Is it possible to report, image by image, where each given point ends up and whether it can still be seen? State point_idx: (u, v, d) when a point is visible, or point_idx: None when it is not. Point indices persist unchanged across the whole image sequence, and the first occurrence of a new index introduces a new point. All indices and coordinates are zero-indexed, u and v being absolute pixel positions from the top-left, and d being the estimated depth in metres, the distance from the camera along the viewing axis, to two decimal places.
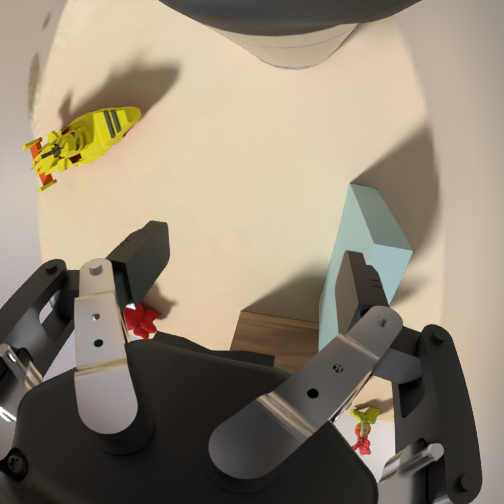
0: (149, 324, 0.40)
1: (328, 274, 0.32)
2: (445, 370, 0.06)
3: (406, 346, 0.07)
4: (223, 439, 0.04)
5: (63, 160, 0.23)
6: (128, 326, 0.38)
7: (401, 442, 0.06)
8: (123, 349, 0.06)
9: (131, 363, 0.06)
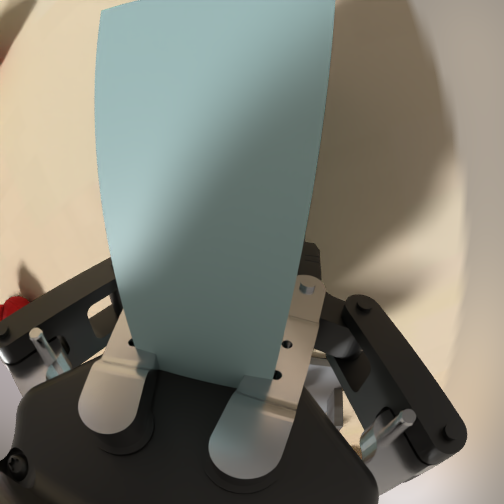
0: None
1: None
2: (383, 337, 0.07)
3: (330, 314, 0.08)
4: (223, 439, 0.04)
5: None
6: None
7: (364, 414, 0.07)
8: (153, 357, 0.05)
9: (160, 372, 0.06)
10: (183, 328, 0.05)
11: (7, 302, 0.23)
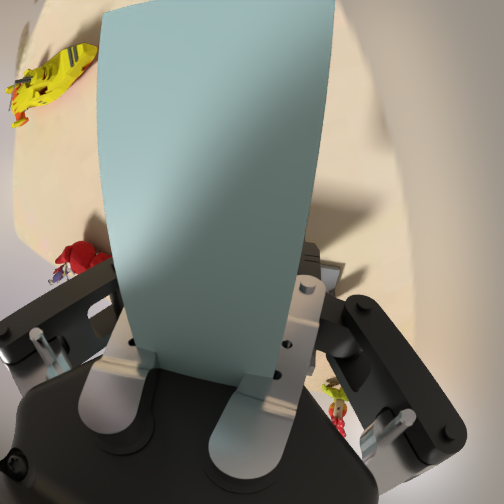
0: None
1: None
2: (383, 337, 0.07)
3: (330, 314, 0.08)
4: (223, 439, 0.04)
5: (32, 90, 0.22)
6: (78, 266, 0.36)
7: (363, 414, 0.07)
8: (153, 357, 0.05)
9: (160, 372, 0.06)
10: (184, 327, 0.05)
11: (75, 243, 0.36)
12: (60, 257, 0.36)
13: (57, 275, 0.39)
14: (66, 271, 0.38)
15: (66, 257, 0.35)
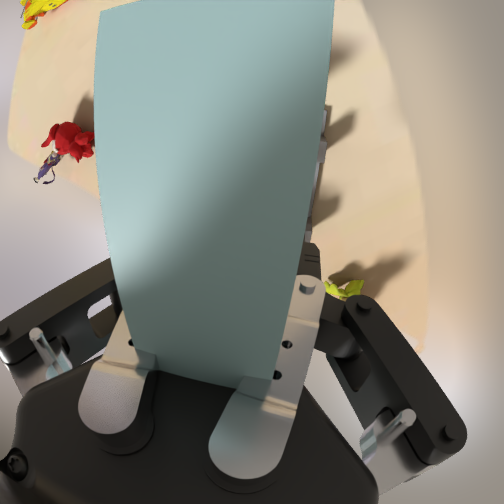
0: (82, 137, 0.33)
1: None
2: (383, 337, 0.07)
3: (329, 314, 0.08)
4: (223, 439, 0.04)
5: None
6: (62, 141, 0.32)
7: (364, 414, 0.07)
8: (153, 357, 0.05)
9: (160, 372, 0.06)
10: (182, 328, 0.05)
11: (62, 123, 0.32)
12: (46, 140, 0.32)
13: (42, 167, 0.36)
14: (51, 157, 0.34)
15: (52, 133, 0.31)
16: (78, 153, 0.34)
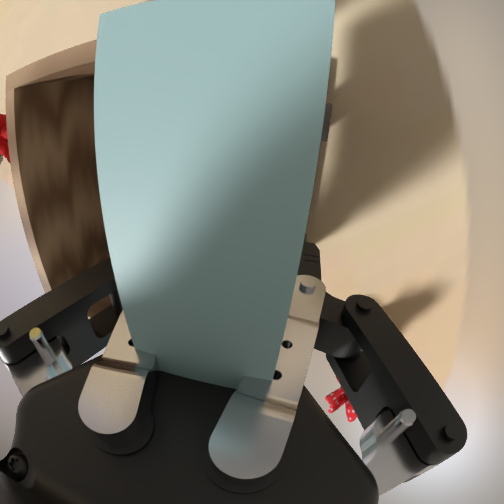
0: None
1: None
2: (383, 337, 0.07)
3: (330, 314, 0.08)
4: (223, 439, 0.04)
5: None
6: None
7: (364, 414, 0.07)
8: (153, 357, 0.05)
9: (160, 372, 0.06)
10: (183, 331, 0.05)
11: None
12: None
13: None
14: None
15: None
16: (4, 149, 0.21)
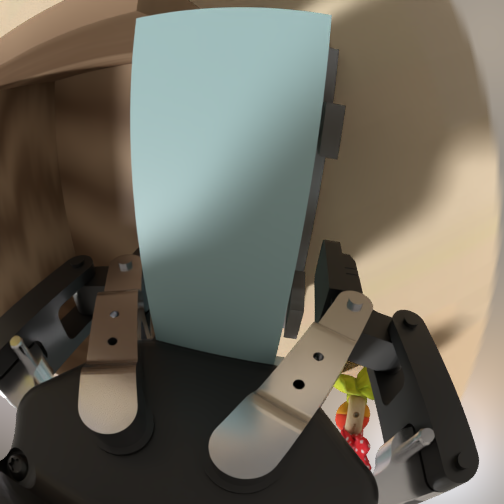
0: None
1: None
2: (422, 354, 0.06)
3: (377, 330, 0.08)
4: (223, 439, 0.04)
5: None
6: None
7: (388, 429, 0.06)
8: (136, 351, 0.06)
9: (143, 365, 0.06)
10: (199, 295, 0.06)
11: None
12: None
13: None
14: None
15: None
16: None
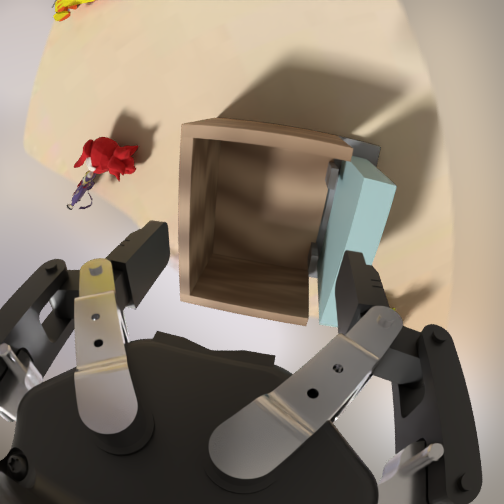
0: (123, 151, 0.33)
1: (325, 236, 0.36)
2: (445, 370, 0.06)
3: (406, 346, 0.07)
4: (223, 439, 0.04)
5: None
6: (99, 156, 0.32)
7: (401, 442, 0.06)
8: (123, 349, 0.06)
9: (131, 363, 0.06)
10: (362, 237, 0.24)
11: (96, 139, 0.33)
12: (79, 159, 0.33)
13: (76, 191, 0.36)
14: (86, 178, 0.35)
15: (86, 150, 0.31)
16: (120, 168, 0.33)
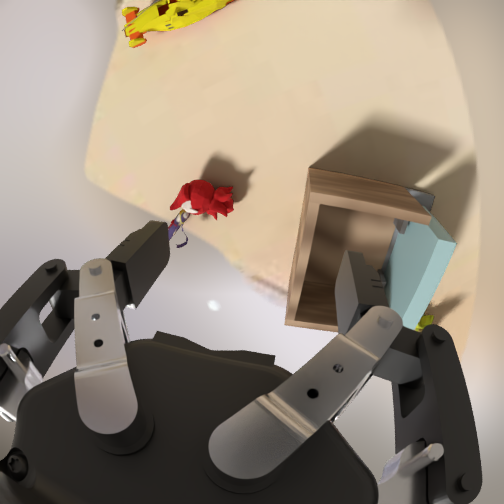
0: (223, 193, 0.40)
1: (389, 265, 0.43)
2: (445, 370, 0.06)
3: (406, 346, 0.07)
4: (223, 439, 0.04)
5: (174, 7, 0.24)
6: (201, 200, 0.39)
7: (401, 442, 0.06)
8: (123, 349, 0.06)
9: (131, 363, 0.06)
10: (431, 276, 0.30)
11: (192, 181, 0.40)
12: (176, 201, 0.40)
13: (170, 231, 0.44)
14: (183, 219, 0.42)
15: (186, 194, 0.38)
16: (223, 211, 0.40)
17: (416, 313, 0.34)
